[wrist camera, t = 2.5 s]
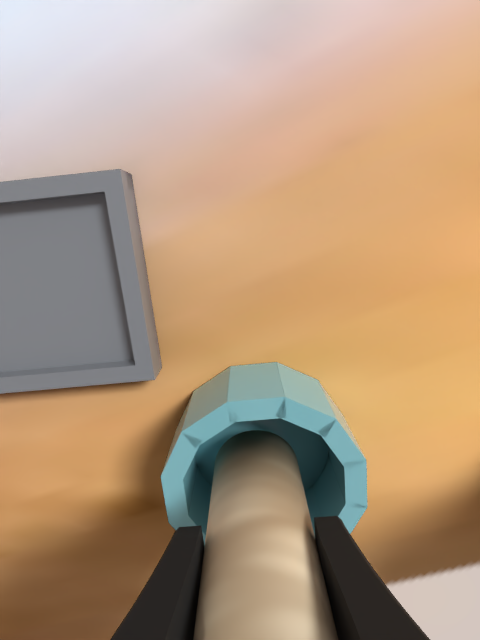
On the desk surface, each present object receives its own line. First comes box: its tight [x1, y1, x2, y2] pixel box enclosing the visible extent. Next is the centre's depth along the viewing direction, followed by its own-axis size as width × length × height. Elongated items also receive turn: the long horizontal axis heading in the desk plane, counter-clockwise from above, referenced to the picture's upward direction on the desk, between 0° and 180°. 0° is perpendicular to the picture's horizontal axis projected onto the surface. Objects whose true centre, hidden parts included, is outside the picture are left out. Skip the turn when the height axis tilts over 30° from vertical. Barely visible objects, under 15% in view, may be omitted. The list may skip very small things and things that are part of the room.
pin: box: [193, 430, 338, 640], centre depth 10 cm, size 3×3×8 cm
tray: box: [0, 169, 162, 394], centre depth 13 cm, size 9×7×1 cm
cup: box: [161, 362, 367, 547], centre depth 14 cm, size 7×7×3 cm
